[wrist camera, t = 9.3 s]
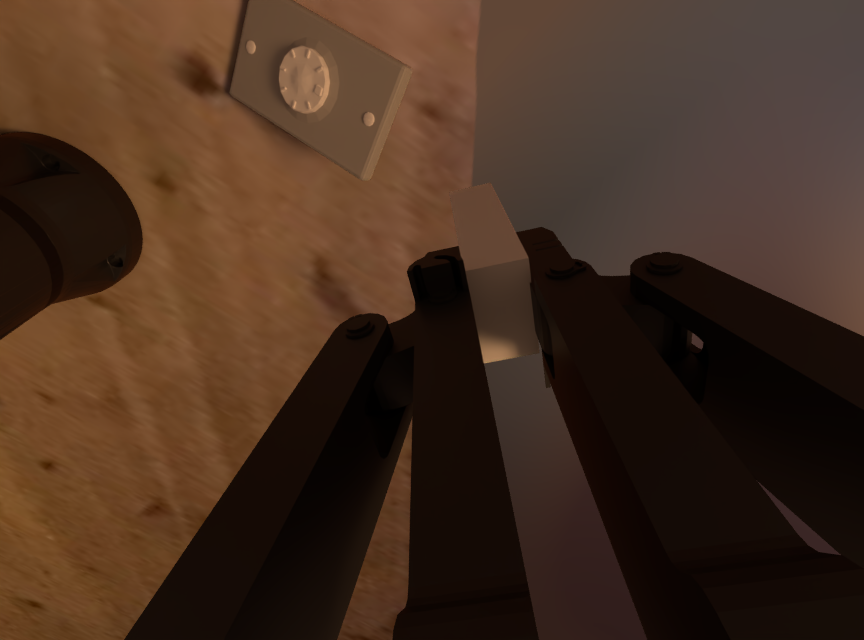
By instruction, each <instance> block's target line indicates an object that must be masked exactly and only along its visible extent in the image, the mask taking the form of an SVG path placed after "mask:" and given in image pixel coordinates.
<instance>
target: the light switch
mask: <svg viewBox="0 0 864 640" xmlns="http://www.w3.org/2000/svg"><path fill="white" fill-rule="evenodd" d="M308 47H309V48H308ZM314 49H315V50H314ZM411 75H412V69H411V67H409V66H408V65H406V64H404V63H402V62H401V61H399V60H397V59H395V58H394V57H392V56H390V55H388V54H386V53H385V52H383V51H381V50H379V49H378V48H376V47H374V46H372V45H371V44H369V43H367V42H365V41H364V40H362V39H360V38H358V37H356V36H355V35H353V34H351V33H349V32H348V31H346V30H344V29H342V28H341V27H339V26H337V25H335V24H334V23H332V22H330V21H328V20H326V19H325V18H323V17H321V16H319V15H318V14H316V13H314V12H312V11H311V10H309V9H307V8H305V7H304V6H302V5H300V4H298V3H296V2H295V1H293V0H248V4H247V9H246V14H245V19H244V24H243V29H242V33H241V38H240V43H239V48H238V53H237V58H236V62H235V67H234V72H233V77H232V82H231V87H230V91H229V92H230V95H231V96H232V97H234V98H235V99H237V100H238V101H240V102H241V103H243V104H244V105H246V106H248V107H249V108H251V109H252V110H254V111H255V112H257V113H258V114H260V115H261V116H263V117H265V118H266V119H268V120H269V121H271V122H272V123H274V124H275V125H277V126H278V127H280V128H281V129H283V130H285V131H286V132H288V133H289V134H291V135H292V136H294V137H295V138H297V139H298V140H300V141H302V142H303V143H305V144H306V145H308V146H309V147H311V148H312V149H314V150H315V151H317V152H318V153H320V154H322V155H323V156H325V157H326V158H328V159H329V160H331V161H332V162H334V163H335V164H337V165H339V166H340V167H342V168H343V169H345V170H346V171H348V172H349V173H351V174H352V175H354V176H355V177H357V178H359V179H360V180H370V179H371V177H372V175H373V172H374V169H375V167H376V164H377V162H378V159H379V157H380V154H381V152H382V149H383V146H384V144H385V141H386V139H387V136H388V134H389V131H390V129H391V126H392V123H393V121H394V118H395V116H396V113H397V111H398V108H399V106H400V103H401V100H402V98H403V95H404V93H405V90H406V88H407V85H408V83H409V80H410V77H411Z"/></svg>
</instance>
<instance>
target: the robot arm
mask: <svg viewBox="0 0 864 640" xmlns="http://www.w3.org/2000/svg"><path fill="white" fill-rule="evenodd" d="M449 195H450V200H451V206H452V211H453V216H454V222H455V227H456V233H457V238H458V244H459V246H457V247H452V248H447V249H443V250H438V251H433V252H429V253H427V254H426V256H425V257H423V258H421V259H419V260H417V261H415V262H414V263H413V264H412V265H410V266H409V268H408V270H407V274H408V277H409V281H410V285H411V288H412V292H413V295H414V299H415V311H414V312H413V313H411V314H410V315H408V316H407V317H405V318H403V319H401V320H398V321H396V322H393V323H391V324H388V322H387V320H386V318H385V317H384V316H382V315H380V314H373V313H368V314H363V315H362V314H360V315H356V316H355V317H354V316H353V317H351V318H349V319H348V320H346V321H345V322H343V323H342V324H340V325H339V326H338V327H337V328H336V329H335V330H334V332H333V333H332V335H331V336H330V338H329V339H328V340H327V342H326V343H325V345H324V346H323V348H322V349H321V351H320V352H319V354H318V355H317V357H316V358H315V360H314V361H313V363H312V364H311V365H310V367H309V368H308V370H307V371H306V373H305V374H304V376H303V377H302V379H301V380H300V382H299V383H298V385H297V386H296V388H295V389H294V391H293V392H292V393H291V395H290V396H289V398H288V399H287V401H286V402H285V404H284V405H283V407H282V408H281V410H280V411H279V413H278V414H277V416H276V417H275V418H274V420H273V421H272V423H271V424H270V426H269V427H268V429H267V430H266V432H265V433H264V435H263V436H262V438H261V439H260V441H259V442H258V443H257V445H256V446H255V448H254V449H253V451H252V452H251V454H250V455H249V457H248V458H247V460H246V461H245V463H244V464H243V466H242V467H241V468H240V470H239V471H238V473H237V474H236V476H235V477H234V479H233V480H232V482H231V483H230V485H229V486H228V488H227V489H226V491H225V492H224V494H223V495H222V496H221V498H220V499H219V501H218V502H217V504H216V505H215V507H214V508H213V510H212V511H211V513H210V514H209V516H208V517H207V519H206V520H205V521H204V523H203V524H202V526H201V527H200V529H199V530H198V532H197V533H196V535H195V536H194V538H193V539H192V541H191V542H190V544H189V545H188V546H187V548H186V549H185V551H184V552H183V554H182V555H181V557H180V558H179V560H178V561H177V563H176V564H175V566H174V567H173V569H172V570H171V572H170V573H169V574H168V576H167V577H166V579H165V580H164V582H163V583H162V585H161V586H160V588H159V589H158V591H157V592H156V594H155V595H154V597H153V598H152V599H151V601H150V602H149V604H148V605H147V607H146V608H145V610H144V611H143V613H142V614H141V616H140V617H139V619H138V620H137V622H136V623H135V624H134V626H133V627H132V629H131V630H130V632H129V633H128V635H127V636H126V638H125V639H124V640H337V638H338V635H339V632H340V629H341V626H342V623H343V620H344V617H345V614H346V611H347V608H348V605H349V603H350V600H351V597H352V594H353V591H354V588H355V585H356V582H357V579H358V576H359V573H360V570H361V567H362V564H363V561H364V558H365V555H366V552H367V549H368V546H369V543H370V540H371V537H372V534H373V532H374V529H375V526H376V523H377V520H378V517H379V514H380V511H381V508H382V505H383V502H384V499H385V496H386V493H387V490H388V487H389V484H390V481H391V478H392V475H393V472H394V469H395V466H396V463H397V460H398V458H399V455H400V452H401V449H402V446H403V443H404V440H405V437H406V434H407V431H408V428H409V425H410V422H411V419H412V416H413V419H412V460H411V502H410V543H409V585H408V600H407V604H406V607H405V608H404V609H403V610H402V611H401V612H400V613H399V614H398V615H397V619H396V622H395V626H394V630H393V640H539V637H538V632H537V627H536V623H535V617H534V612H533V607H532V602H531V598H530V592H529V587H528V582H527V577H526V572H525V567H524V562H523V557H522V552H521V547H520V542H519V537H518V532H517V527H516V522H515V518H514V512H513V507H512V502H511V497H510V492H509V487H508V482H507V477H506V472H505V467H504V462H503V457H502V452H501V447H500V442H499V437H498V432H497V427H496V422H495V418H494V412H493V407H492V402H491V397H490V392H489V387H488V382H487V377H486V372H485V367H484V363H488V362H493V361H499V360H504V359H510V358H515V357H521V356H526V355H531V354H537V353H539V344H538V340H539V342H540V345H541V347H542V356H543V365H544V374H545V383H546V388H548V387H550V383H551V386H552V389H553V391H554V394H555V396H556V399H557V402H558V404H559V407H560V410H561V412H562V415H563V418H564V420H565V423H566V426H567V428H568V431H569V434H570V436H571V438H572V441H573V444H574V447H575V449H576V452H577V455H578V457H579V460H580V463H581V465H582V468H583V470H584V473H585V476H586V479H587V481H588V484H589V486H590V489H591V492H592V494H593V497H594V500H595V502H596V505H597V508H598V510H599V513H600V516H601V518H602V521H603V523H604V526H605V529H606V532H607V534H608V537H609V539H610V542H611V545H612V547H613V550H614V553H615V555H616V558H617V561H618V563H619V566H620V569H621V571H622V574H623V577H624V579H625V582H626V584H627V587H628V589H629V592H630V595H631V598H632V600H633V603H634V606H635V608H636V611H637V613H638V616H639V619H640V621H641V624H642V626H643V629H644V632H645V634H646V637H647V640H864V336H862V335H860V334H857V333H855V332H853V331H850V330H848V329H846V328H844V327H842V326H840V325H837V324H836V323H833V322H831V321H829V320H827V319H825V318H822V317H820V316H818V315H816V314H814V313H812V312H809V311H807V310H805V309H803V308H801V307H798V306H796V305H794V304H792V303H790V302H788V301H785V300H783V299H781V298H779V297H777V296H774V295H772V294H770V293H768V292H766V291H763V290H761V289H759V288H757V287H755V286H753V285H750V284H748V283H746V282H744V281H742V280H740V279H737V278H735V277H733V276H731V275H729V274H726V273H724V272H722V271H720V270H718V269H715V268H713V267H711V266H709V265H707V264H705V263H702V262H700V261H698V260H696V259H694V258H691V257H688V256H685V255H682V254H675V253H670V252H662V253H660V252H657V253H653V254H650V255H645V256H642V257H640V258H638V259H636V260H635V261H634V262H633V263H632V264H631V266H630V275H629V276H600V275H598V274H597V273H596V272H595V270H594V269H593V268H592V266H591V265H589V264H588V263H586V262H585V261H581V260H578V259H572V258H571V256H570V255H569V254H568V252H567V251H566V249H565V248H564V246H562V244H561V242H560V241H559V240H558V238H557V237H556V235H555V234H554V232H553V231H550V230H548V229H545V228H543V227H539V228H534V229H530V230H525V231H521V232H515V230H514V228H513V226H512V224H511V222H510V220H509V218H508V216H507V214H506V212H505V211H504V208H503V206H502V204H501V203H500V200H499V199H498V197H497V195H496V193H495V191H494V189H493V187H492V185H491V183H487V184H483V185H479V186H474V187H469V188H465V189H461V190H456V191H452V192H449ZM142 240H143V238H142V229H141V225H140V221H139V218H138V215H137V212H136V210H135V208H134V206H133V204H132V202H131V200H130V199H129V197H128V195H127V194H126V192H125V191H124V190H123V188H122V187H121V186H120V184H119V183H118V182H117V181H116V180H115V179H114V177H113V176H112V175H111V174H110V173H109V172H108V171H107V170H106V169H104V168H103V167H102V166H101V165H100V164H99V163H97V162H96V161H95V160H94V159H92V158H91V157H89V156H88V155H86V154H85V153H83V152H82V151H80V150H78V149H77V148H75V147H73V146H71V145H69V144H67V143H65V142H62V141H60V140H57V139H55V138H51V137H48V136H44V135H40V134H35V133H27V132H14V133H6V134H2V135H0V340H1V339H2V338H4V337H5V336H7V335H8V334H9V333H11V332H12V331H14V330H15V329H16V328H18V327H19V326H21V325H22V324H23V323H25V322H26V321H28V320H29V319H30V318H32V317H33V316H35V315H36V314H38V313H39V312H40V311H42V310H43V309H45V308H46V307H48V306H49V305H51V304H54V303H58V302H62V301H66V300H70V299H74V298H78V297H83V296H87V295H91V294H95V293H98V292H101V291H103V290H105V289H108V288H109V287H111V286H113V285H114V284H116V283H117V282H118V281H120V280H121V279H122V278H124V277H125V276H126V275H127V274H129V273H130V272H131V271H132V270H133V268H134V267H135V266H136V264H137V262H138V260H139V258H140V255H141V250H142ZM692 333H694V334H695V335H697V336H698V337H699V338H700V339H701V340H702V341H703V342H704V343H703V348H702V349H699V348H698V347H696V346H695V345H693V344H692V343H691V342H692ZM756 480H757V481H758V482H759V483H761V484H762V485H763V486H764V487H765V488H766V489H767V490H769V492H771V493H772V494H773V495H774V496H775V497H776V498H777V499H778V500H780V501H781V502H782V503H783V504H784V505H785V506H786V507H787V508H789V509H790V510H791V511H792V512H793V513H794V514H795V515H797V516H798V517H799V518H800V519H801V520H802V521H803V522H805V523H806V524H807V525H808V526H809V527H810V528H811V529H812V530H813V531H815V532H816V533H817V534H818V535H819V536H820V537H821V538H823V539H824V540H825V541H826V542H827V543H828V544H829V545H830V546H832V547H833V548H834V549H835V550H836V551H837V552H838V553H839V554H841V555H835V554H828V553H821V552H818V551H816V550H815V549H813V548H812V547H810V546H808V545H807V544H806V542H805V541H804V540H803V539H802V538H801V537H800V536H799V535H798V534H797V533H796V531H795V530H794V529H793V527H792V526H791V525H790V524H789V522H788V521H787V520H786V518H785V517H784V516H783V514H782V513H781V512H780V510H779V509H778V508H777V507H776V506H775V504H774V503H773V501H772V500H771V499H770V497H769V496H768V495H767V494H766V492H765V491H764V490H763V488H762V487H761V486H760V485H759V483H758V482H757V481H756Z"/></svg>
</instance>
